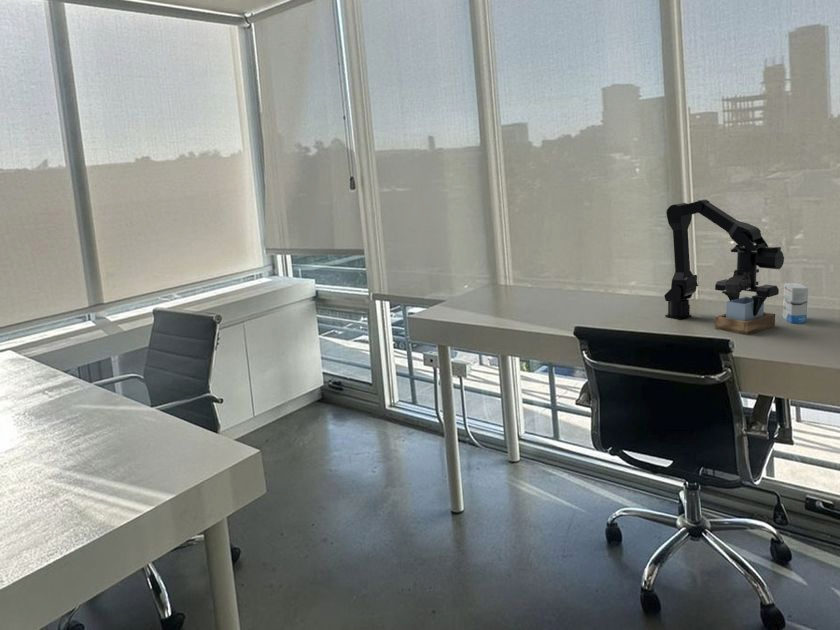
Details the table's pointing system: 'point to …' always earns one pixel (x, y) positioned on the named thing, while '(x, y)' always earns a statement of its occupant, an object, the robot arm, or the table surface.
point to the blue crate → (742, 309)
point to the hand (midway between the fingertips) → (744, 313)
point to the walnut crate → (745, 324)
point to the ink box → (795, 302)
